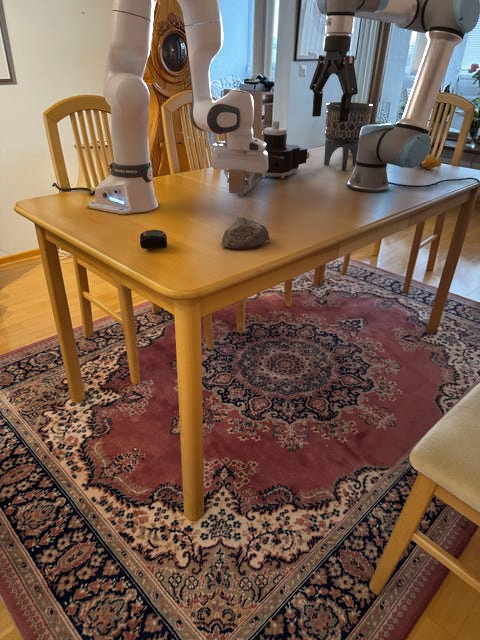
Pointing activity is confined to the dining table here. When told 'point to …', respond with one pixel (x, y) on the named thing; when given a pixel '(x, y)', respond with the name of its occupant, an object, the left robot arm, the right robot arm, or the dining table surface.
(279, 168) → the mechanical component
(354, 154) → the planter
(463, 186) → the dining table surface
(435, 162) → the toy
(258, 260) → the dining table surface
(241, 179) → the bar
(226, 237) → the rock
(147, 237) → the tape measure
